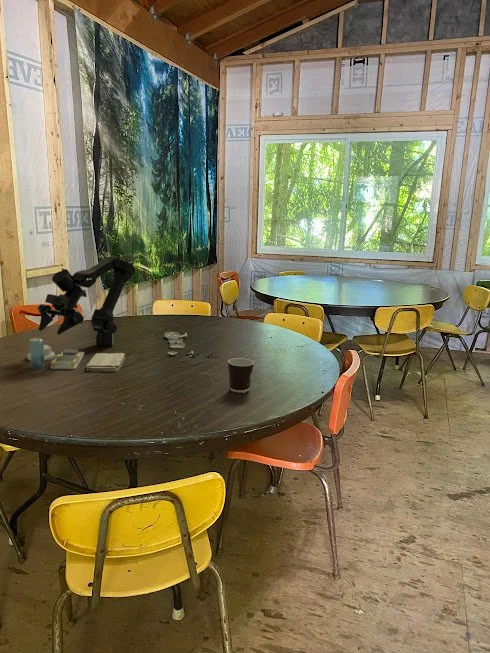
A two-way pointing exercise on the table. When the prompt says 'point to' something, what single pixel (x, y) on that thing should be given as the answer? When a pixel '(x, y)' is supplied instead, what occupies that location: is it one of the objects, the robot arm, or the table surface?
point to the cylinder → (36, 353)
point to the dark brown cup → (240, 373)
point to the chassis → (67, 359)
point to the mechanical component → (45, 353)
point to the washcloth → (105, 362)
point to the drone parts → (175, 341)
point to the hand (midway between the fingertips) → (48, 332)
